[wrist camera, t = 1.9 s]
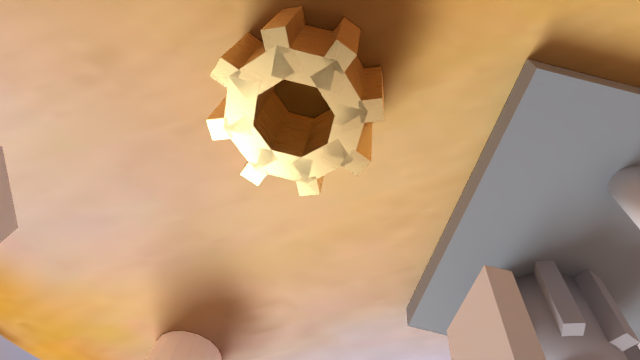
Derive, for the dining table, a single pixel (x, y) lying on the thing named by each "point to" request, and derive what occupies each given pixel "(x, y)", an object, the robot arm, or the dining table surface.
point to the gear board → (552, 217)
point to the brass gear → (289, 128)
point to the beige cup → (183, 347)
